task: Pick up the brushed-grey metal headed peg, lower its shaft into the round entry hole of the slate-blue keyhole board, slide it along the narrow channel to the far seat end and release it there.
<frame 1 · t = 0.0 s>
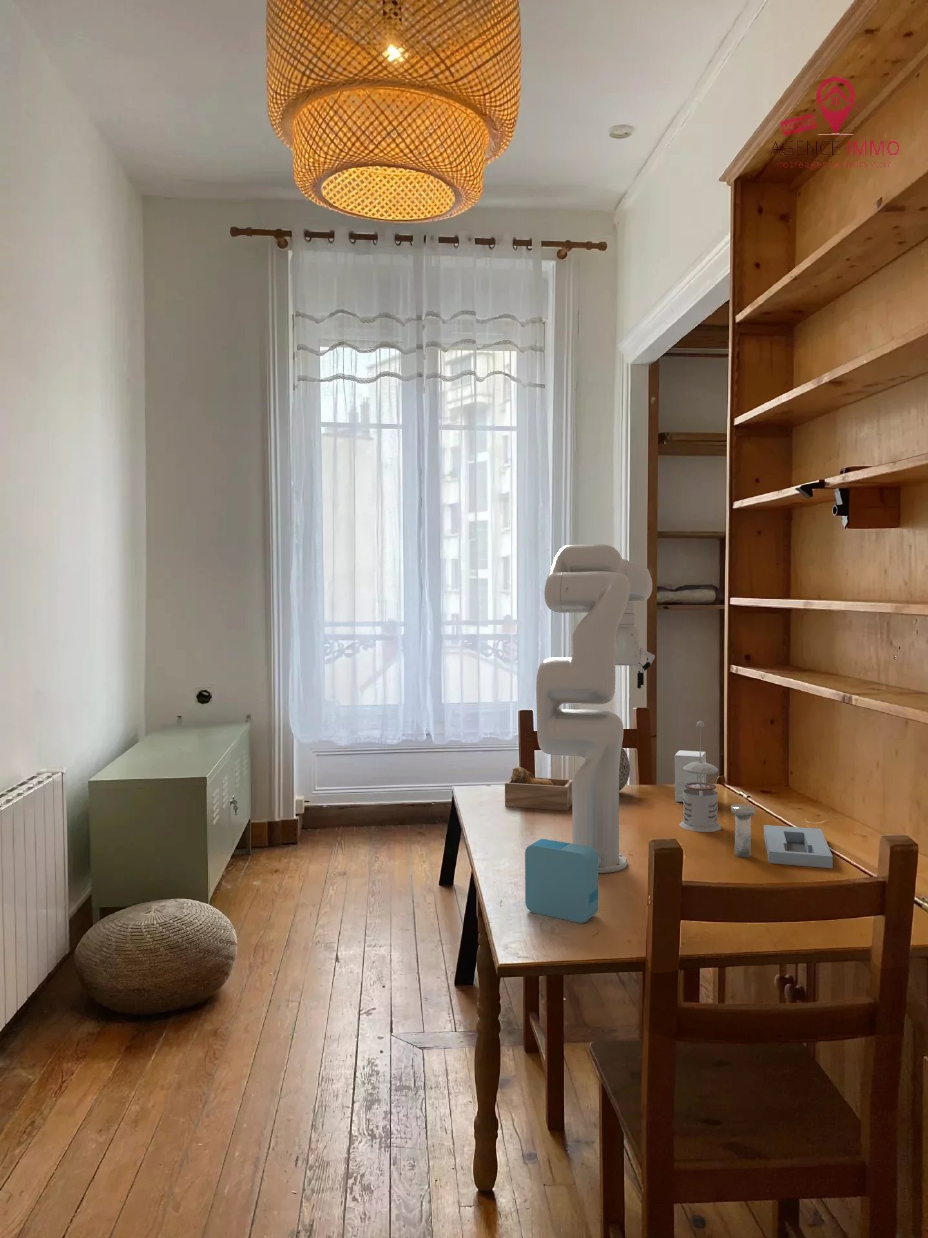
hand: (620, 687, 212), 31 cm above the table, fingers open, 9 cm apart
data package: (561, 915, 144), on the table
supplement box: (690, 800, 222), on the table
lion figurine: (534, 803, 219), resting in open wooden box
keyhole board: (796, 850, 178), on the table
french press: (700, 825, 198), on the table
metal peg: (742, 855, 175), on the table
decorative egg: (608, 794, 229), on the table
open wooden box: (539, 804, 219), on the table
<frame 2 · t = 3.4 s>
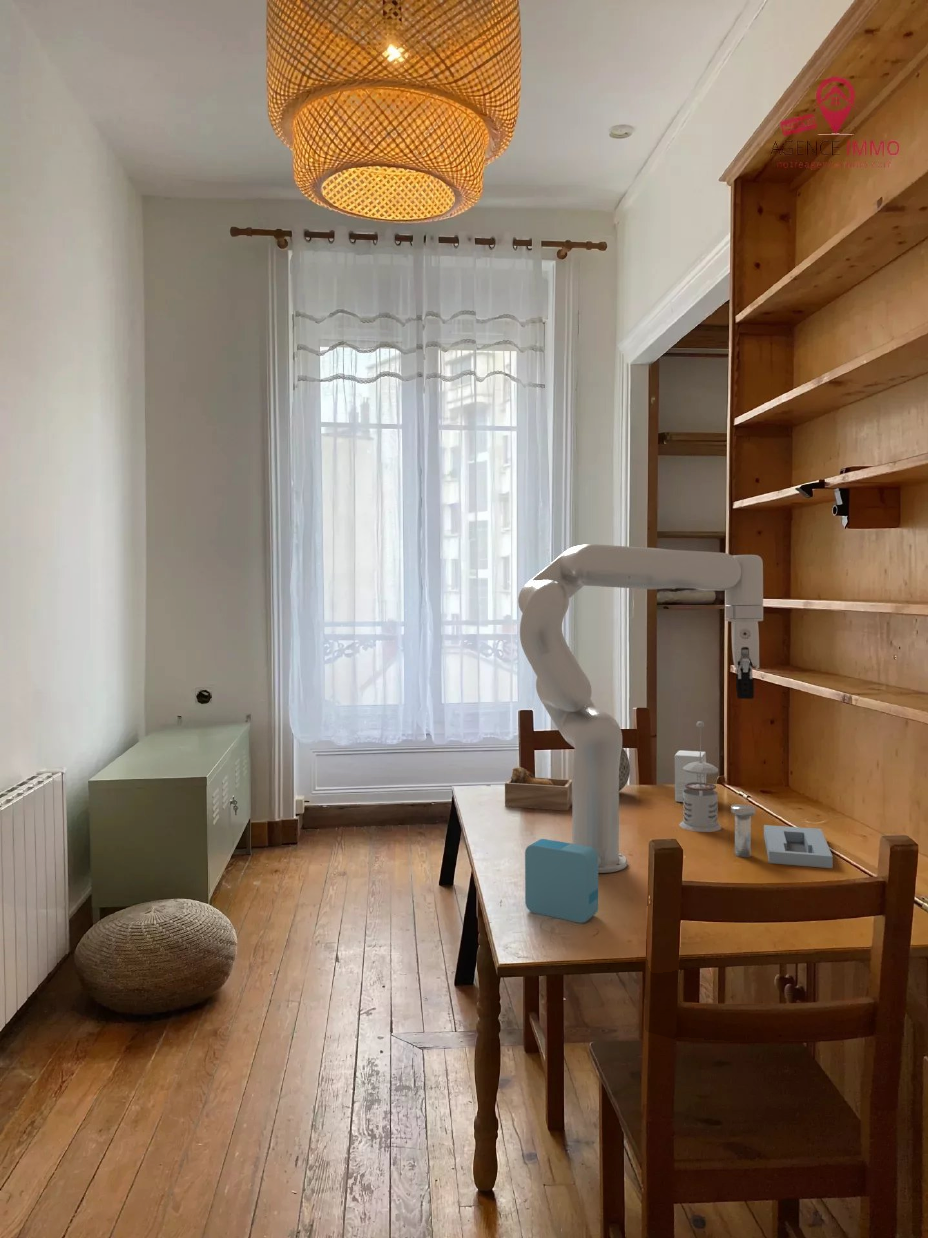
hand: (744, 695, 174), 34 cm above the table, fingers open, 9 cm apart
nothing on the table moved.
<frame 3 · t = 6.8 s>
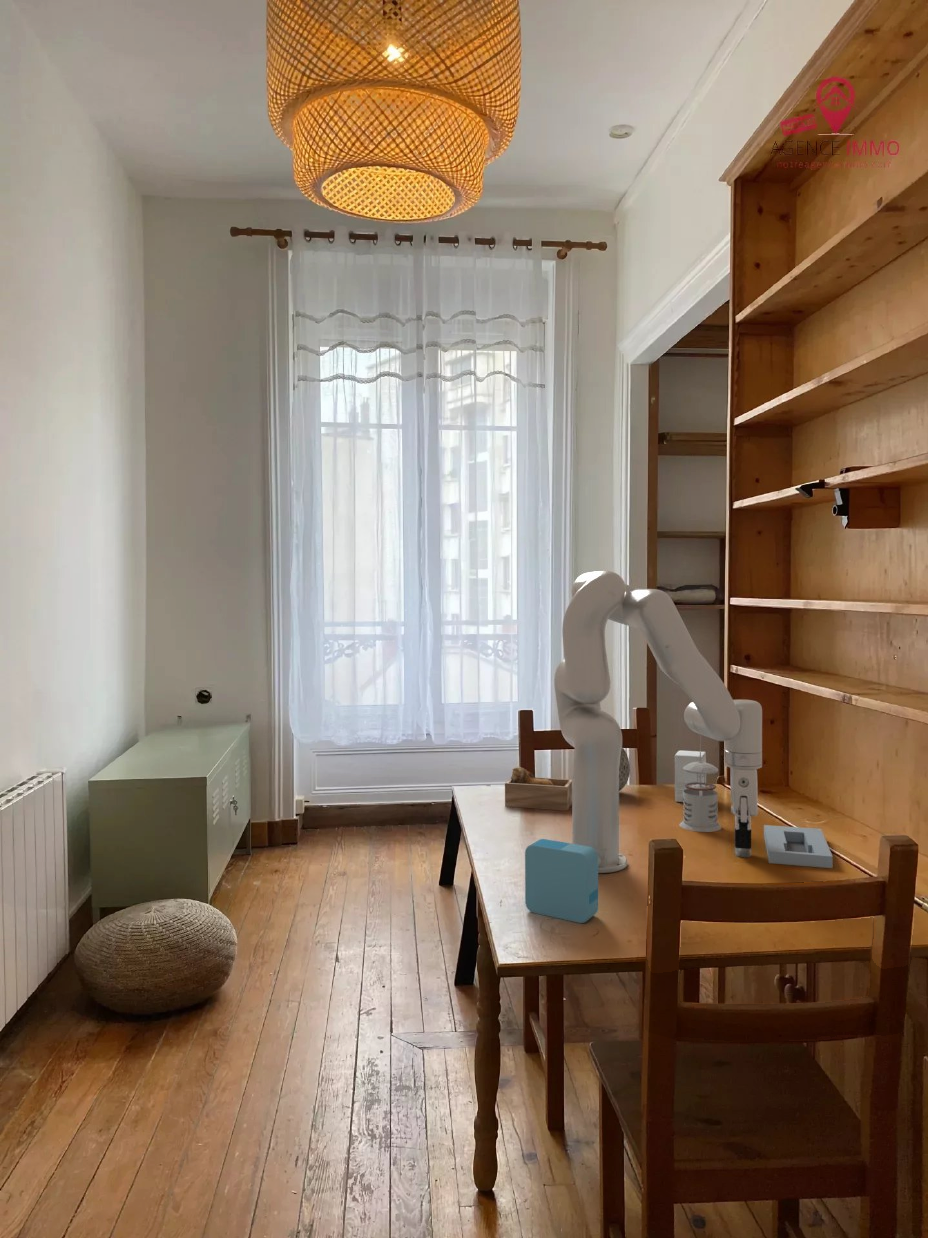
hand: (742, 844, 175), 2 cm above the table, fingers closed on metal peg, 3 cm apart
metal peg: (742, 855, 175), on the table, touching gripper
everything else where it was.
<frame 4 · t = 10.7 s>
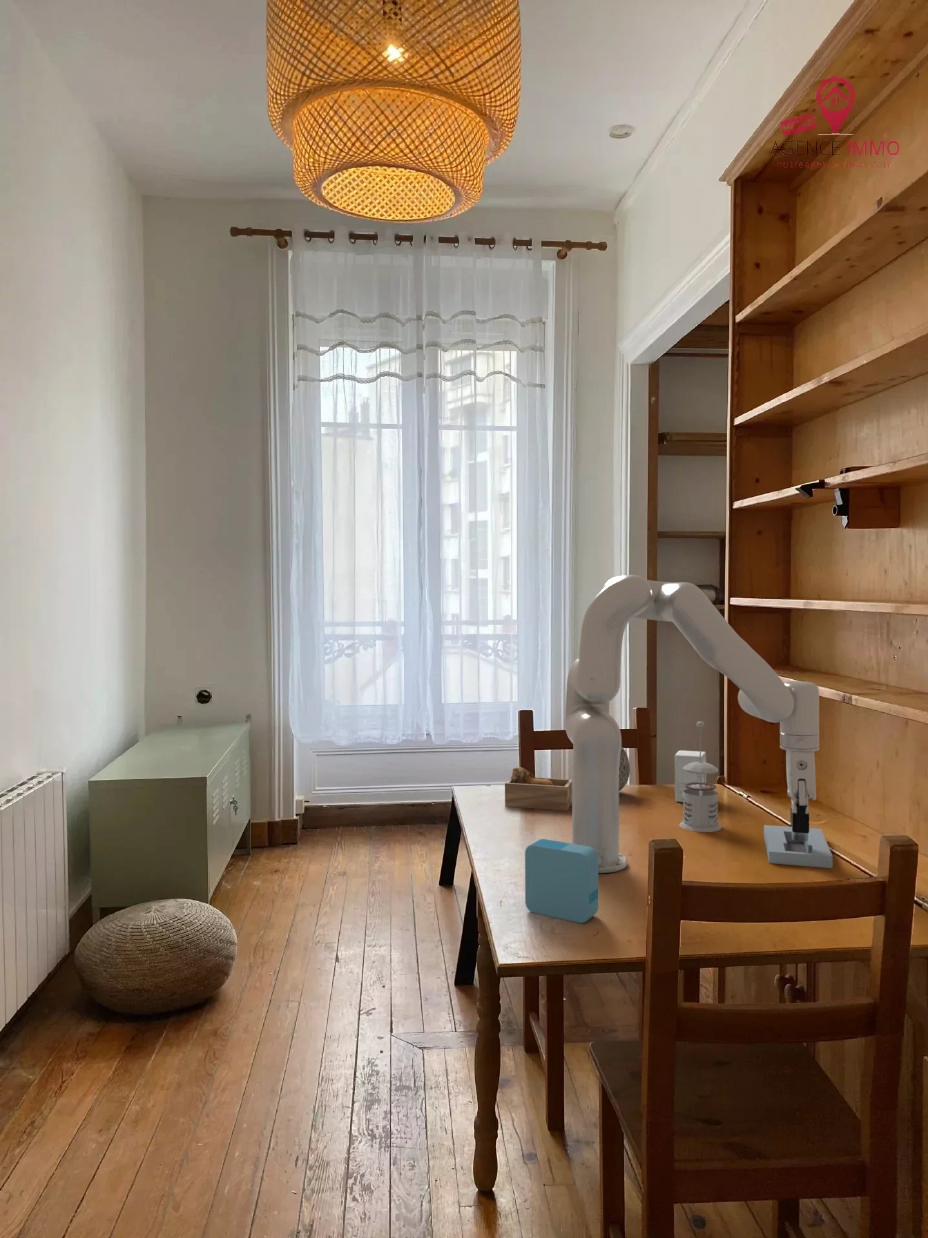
hand: (799, 829, 172), 6 cm above the table, fingers closed on metal peg, 3 cm apart
metal peg: (800, 839, 172), point 4 cm above the table, touching gripper
everything else where it was.
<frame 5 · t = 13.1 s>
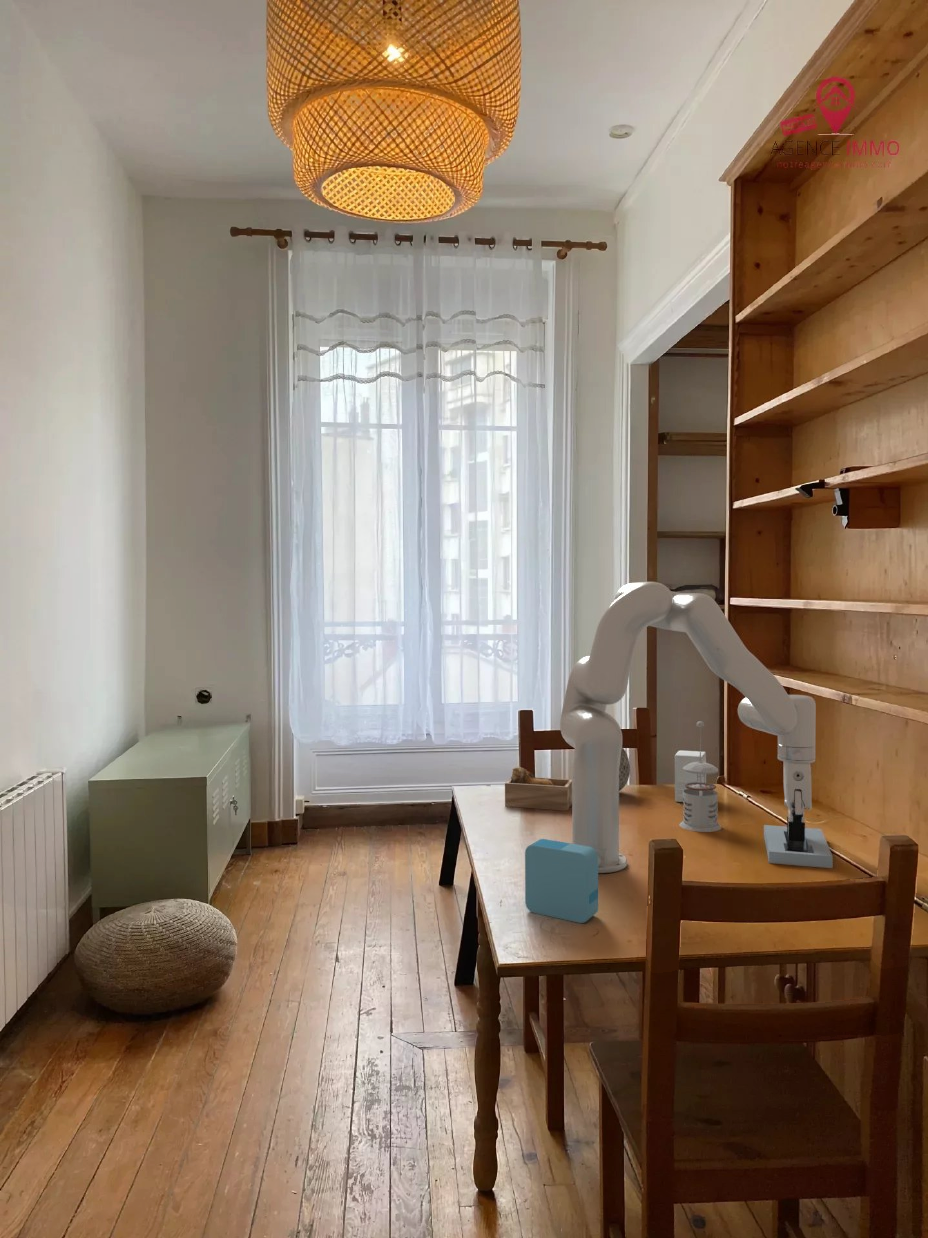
hand: (795, 837, 178), 3 cm above the table, fingers closed on metal peg, 3 cm apart
metal peg: (795, 847, 178), point 1 cm above the table, touching gripper
everything else where it was.
when the fingers open (3 cm above the table, at t = 14.9 s): metal peg stays where it is, resting on keyhole board.
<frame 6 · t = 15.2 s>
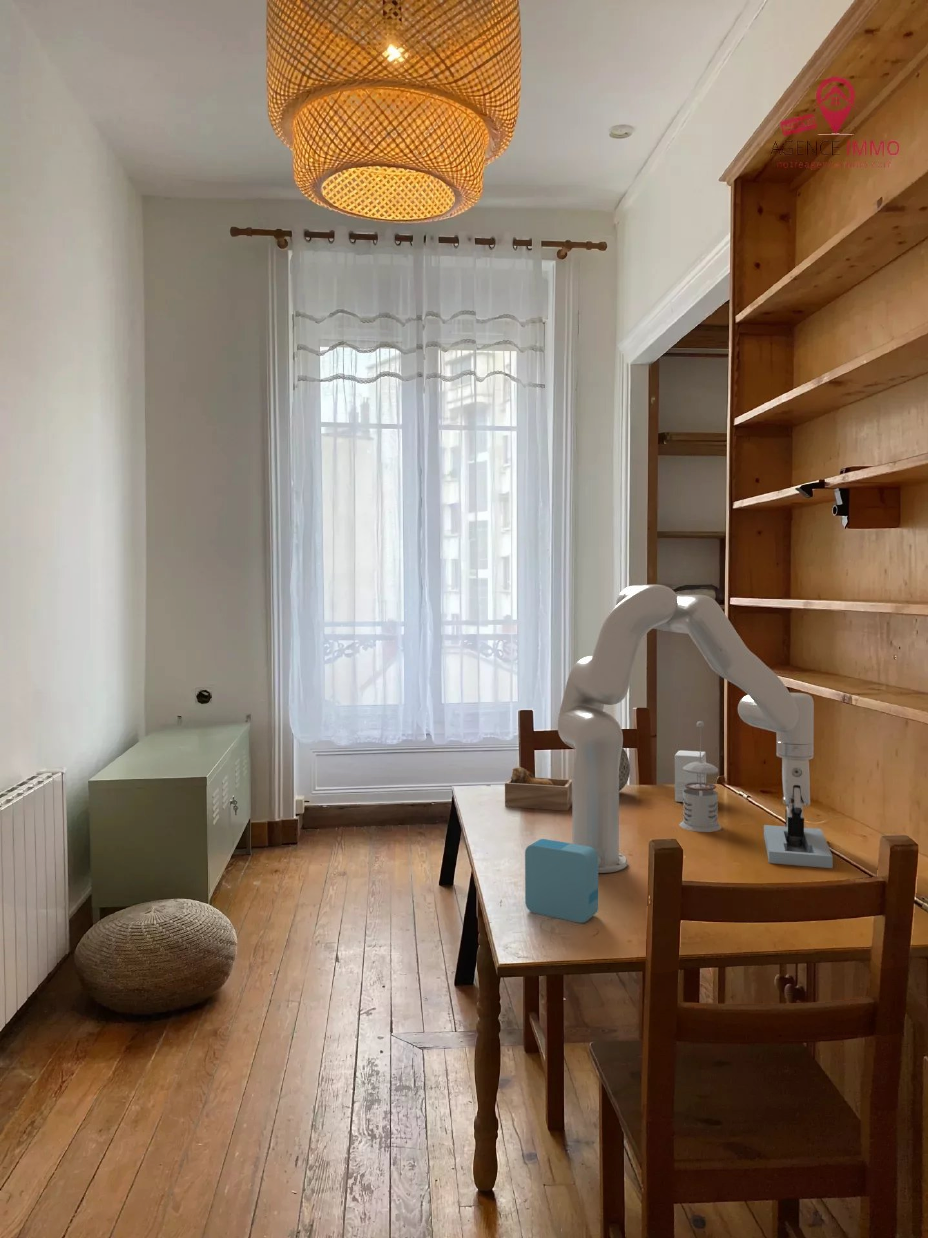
hand: (794, 831, 182), 3 cm above the table, fingers open, 5 cm apart
metal peg: (794, 844, 182), resting on keyhole board
everything else where it was.
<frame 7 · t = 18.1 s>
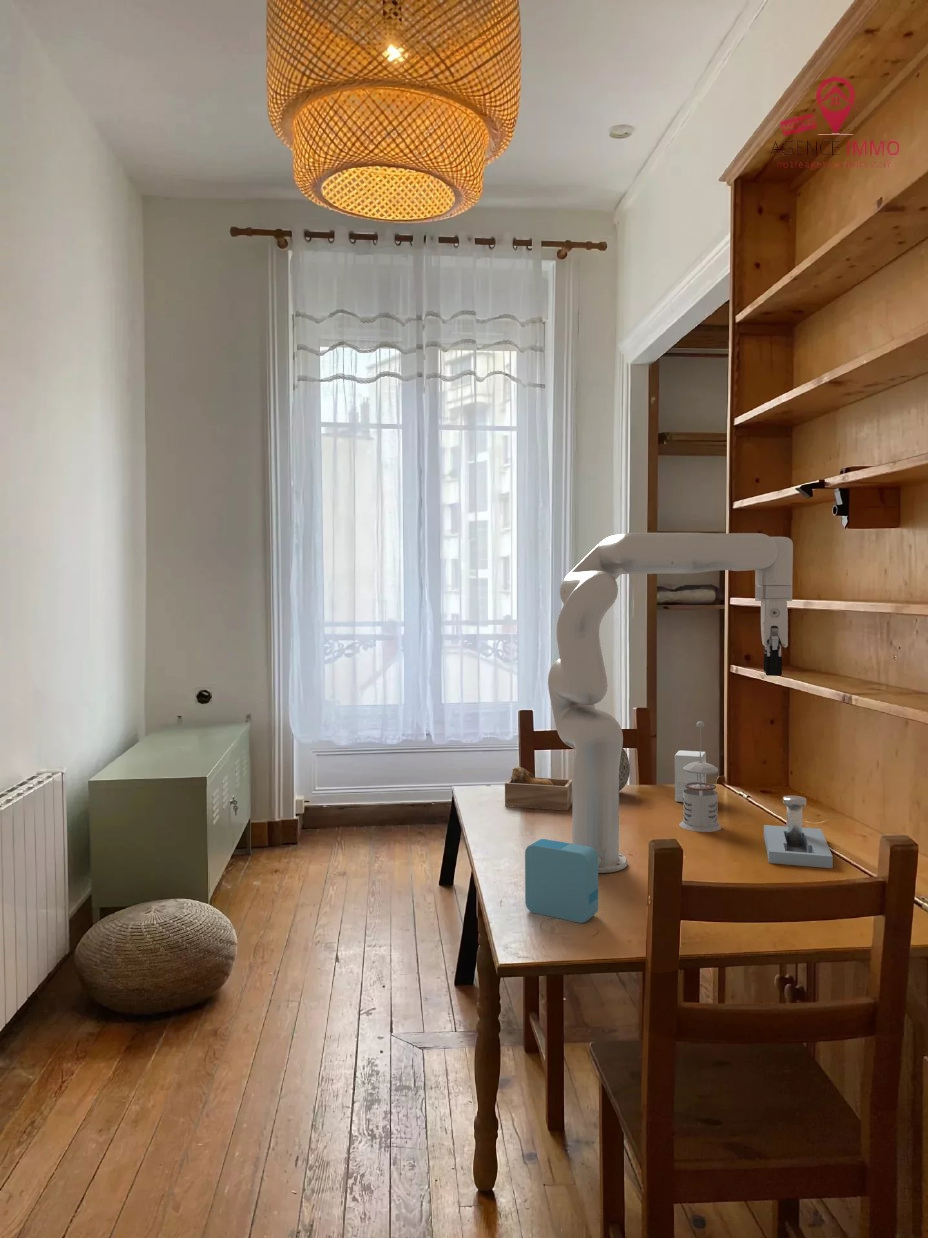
hand: (772, 673, 179), 38 cm above the table, fingers open, 9 cm apart
nothing on the table moved.
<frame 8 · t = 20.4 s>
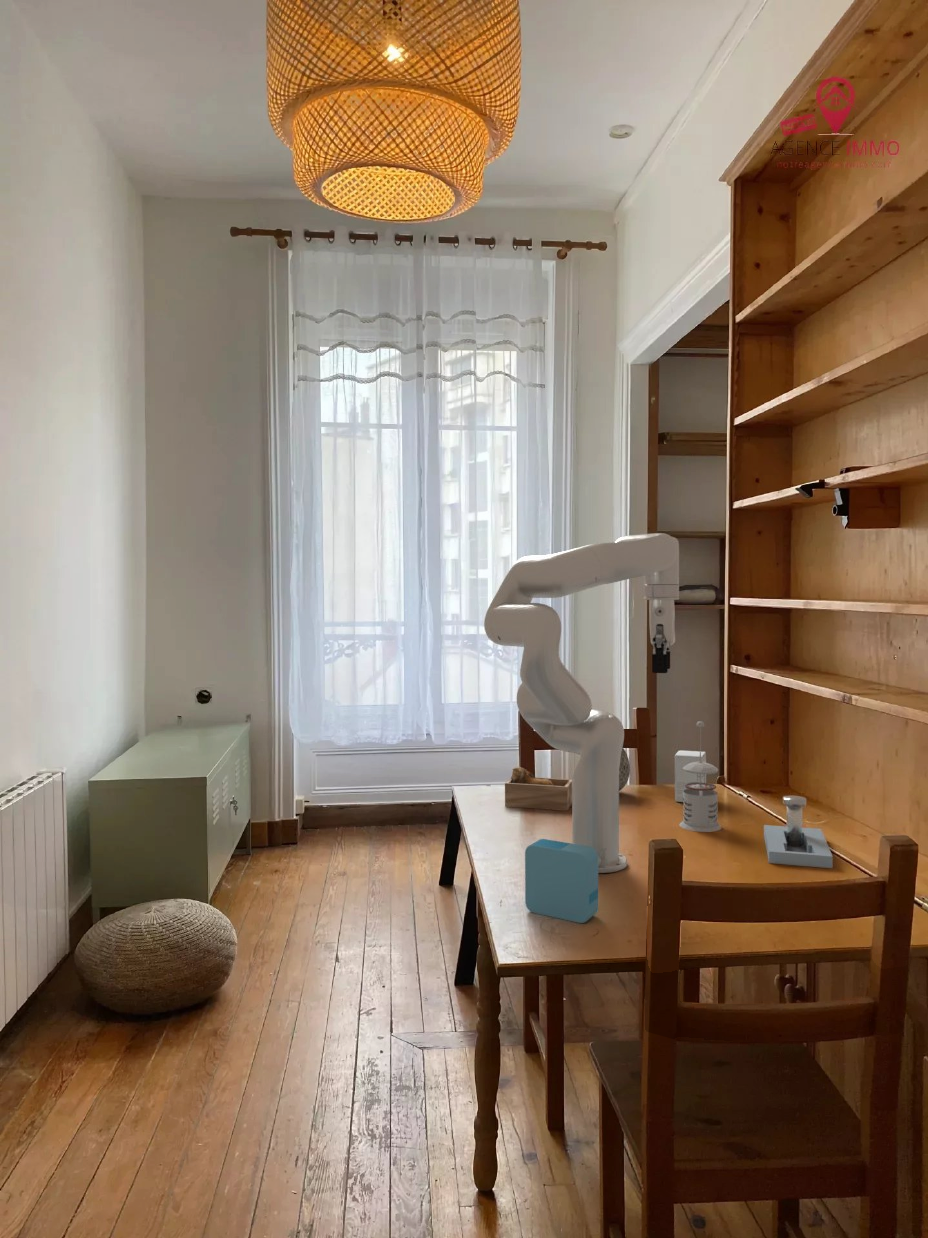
hand: (661, 670, 183), 38 cm above the table, fingers open, 9 cm apart
nothing on the table moved.
at the end: metal peg 0.0 cm from the target spot on the keyhole board, point 0.2 cm above the keyhole board's base; metal peg tilted 0°; the gripper is holding nothing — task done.
